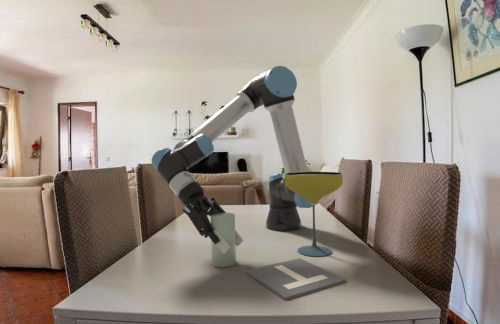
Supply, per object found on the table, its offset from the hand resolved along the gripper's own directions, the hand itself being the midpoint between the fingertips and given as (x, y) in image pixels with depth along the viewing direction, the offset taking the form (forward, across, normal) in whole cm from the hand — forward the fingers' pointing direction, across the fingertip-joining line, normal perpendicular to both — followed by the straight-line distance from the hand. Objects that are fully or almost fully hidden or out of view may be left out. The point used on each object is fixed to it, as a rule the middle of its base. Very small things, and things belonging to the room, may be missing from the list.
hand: (233, 246), depth 87 cm
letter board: (+17, -2, -9) cm, 19 cm away
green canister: (+1, 0, +6) cm, 6 cm away
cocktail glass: (+16, +21, -9) cm, 28 cm away
